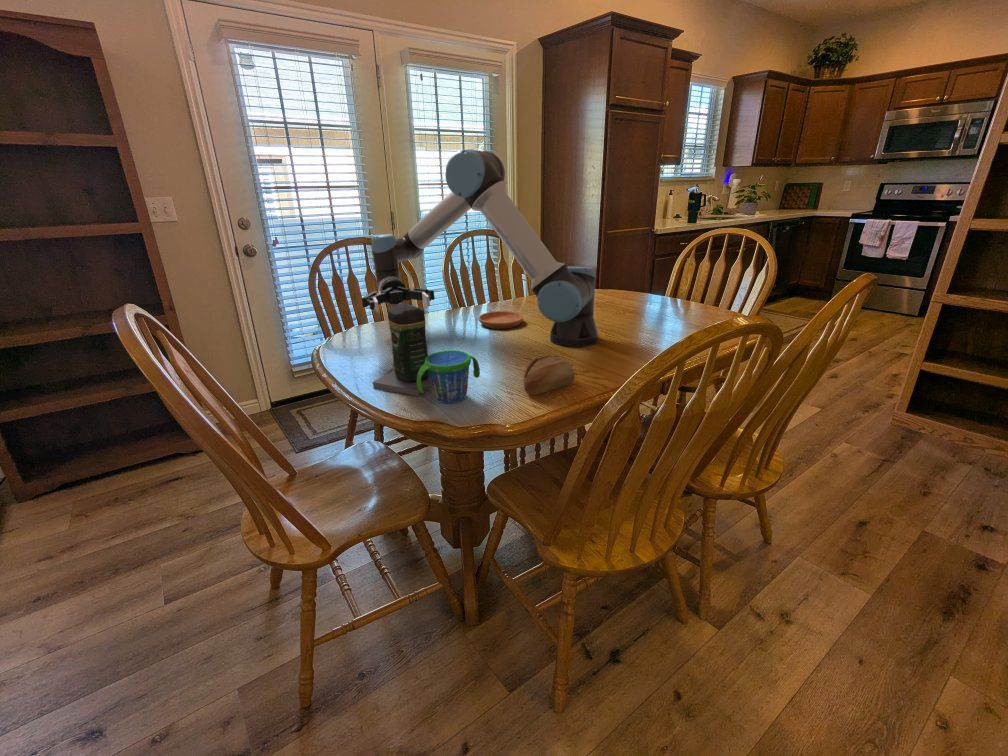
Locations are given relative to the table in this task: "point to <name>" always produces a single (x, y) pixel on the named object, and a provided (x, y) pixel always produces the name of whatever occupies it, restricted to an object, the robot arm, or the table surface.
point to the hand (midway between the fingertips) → (403, 304)
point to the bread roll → (547, 374)
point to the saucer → (501, 319)
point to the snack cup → (448, 374)
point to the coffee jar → (408, 340)
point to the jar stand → (401, 385)
